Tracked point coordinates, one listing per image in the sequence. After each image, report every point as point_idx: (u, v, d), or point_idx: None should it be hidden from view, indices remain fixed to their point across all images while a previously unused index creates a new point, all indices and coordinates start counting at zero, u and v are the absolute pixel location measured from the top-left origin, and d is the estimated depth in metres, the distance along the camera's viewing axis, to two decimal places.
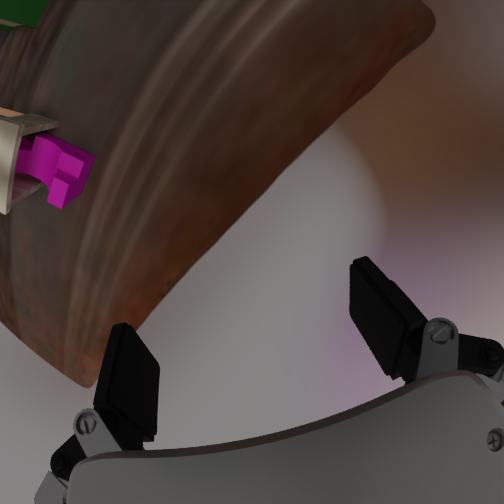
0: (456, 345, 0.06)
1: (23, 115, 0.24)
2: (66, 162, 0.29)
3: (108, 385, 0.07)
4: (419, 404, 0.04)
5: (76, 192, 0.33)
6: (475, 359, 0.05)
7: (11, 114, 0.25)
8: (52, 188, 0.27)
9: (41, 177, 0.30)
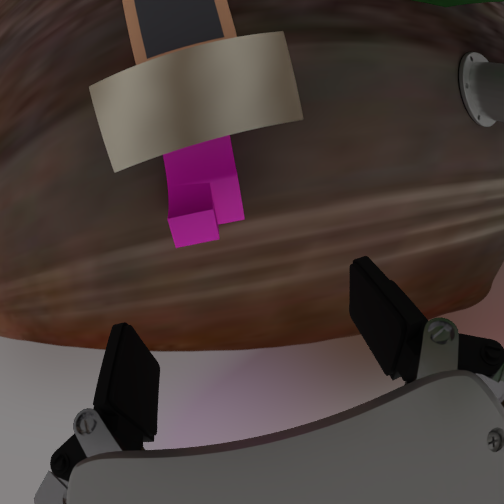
0: (456, 345, 0.06)
1: None
2: (227, 194, 0.24)
3: (108, 385, 0.07)
4: (419, 404, 0.04)
5: None
6: (475, 359, 0.05)
7: (225, 20, 0.18)
8: (194, 217, 0.21)
9: (168, 155, 0.23)
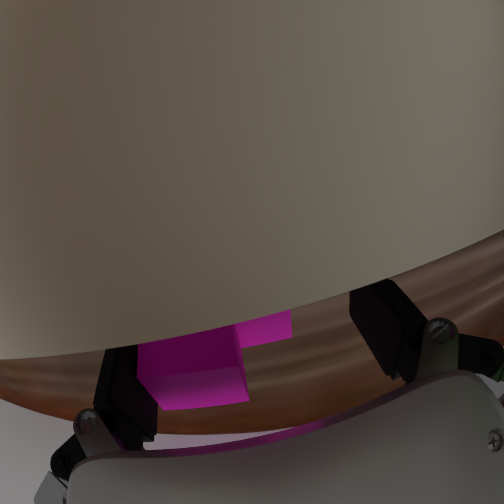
0: (456, 345, 0.06)
1: None
2: None
3: (108, 385, 0.07)
4: (419, 404, 0.04)
5: None
6: (475, 359, 0.05)
7: None
8: (194, 377, 0.09)
9: None
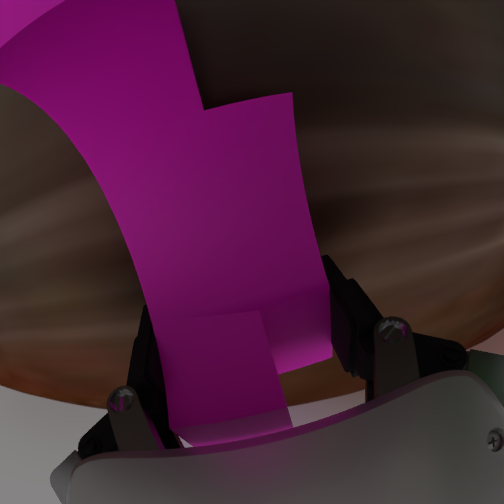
0: (411, 341, 0.06)
1: None
2: (301, 325, 0.10)
3: (145, 361, 0.08)
4: (419, 404, 0.04)
5: None
6: (431, 360, 0.06)
7: None
8: (236, 423, 0.07)
9: (137, 238, 0.09)
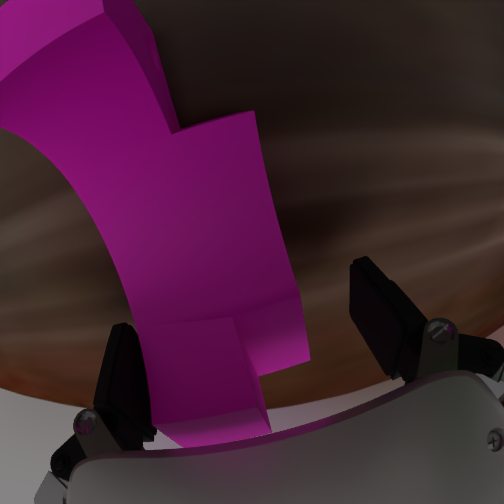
0: (456, 345, 0.06)
1: None
2: (275, 330, 0.10)
3: (108, 385, 0.07)
4: (419, 404, 0.04)
5: None
6: (475, 359, 0.05)
7: None
8: (212, 421, 0.08)
9: (120, 251, 0.09)
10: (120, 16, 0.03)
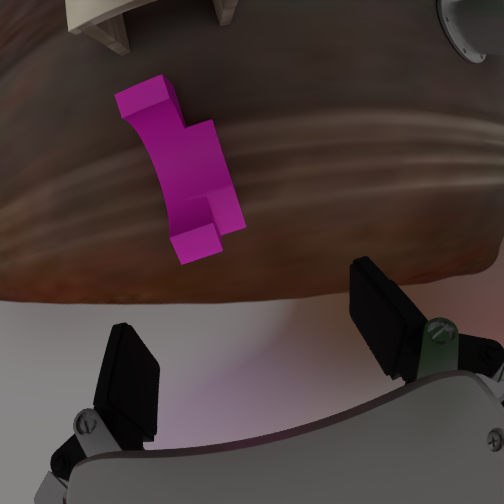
0: (456, 345, 0.06)
1: None
2: (225, 204, 0.24)
3: (108, 385, 0.07)
4: (419, 404, 0.04)
5: None
6: (475, 359, 0.05)
7: None
8: (195, 232, 0.21)
9: (162, 173, 0.23)
10: (170, 94, 0.17)
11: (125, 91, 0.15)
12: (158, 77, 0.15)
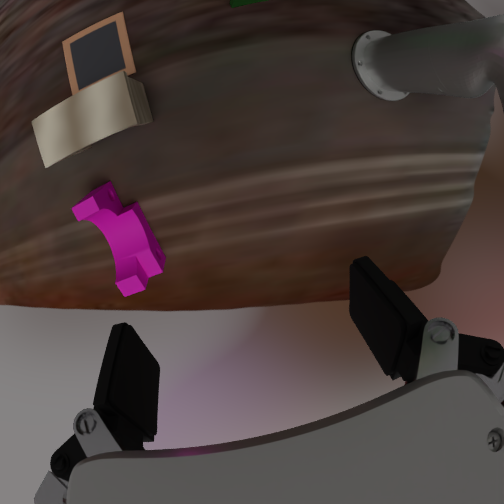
0: (456, 345, 0.06)
1: (137, 83, 0.26)
2: (147, 260, 0.37)
3: (108, 385, 0.07)
4: (419, 404, 0.04)
5: None
6: (475, 359, 0.05)
7: (127, 54, 0.26)
8: (128, 280, 0.35)
9: (110, 241, 0.36)
10: (101, 203, 0.30)
11: (76, 206, 0.29)
12: (91, 198, 0.29)
